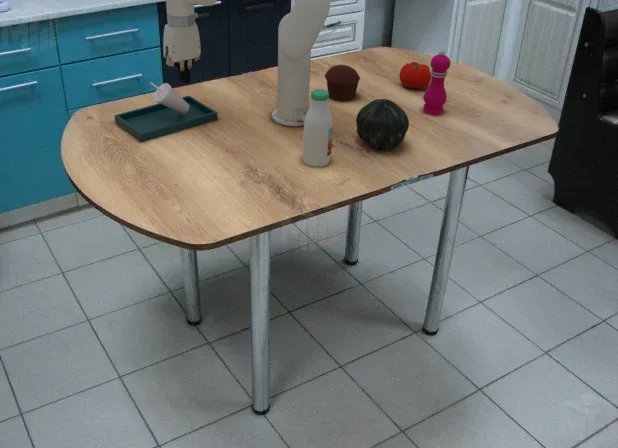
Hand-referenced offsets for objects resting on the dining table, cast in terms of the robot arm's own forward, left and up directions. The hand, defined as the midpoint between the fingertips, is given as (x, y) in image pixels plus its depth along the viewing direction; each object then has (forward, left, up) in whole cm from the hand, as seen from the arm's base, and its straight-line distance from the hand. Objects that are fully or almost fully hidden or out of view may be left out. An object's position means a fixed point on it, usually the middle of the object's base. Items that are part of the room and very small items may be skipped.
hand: (184, 81), depth 198 cm
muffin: (-16, -49, -11) cm, 53 cm away
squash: (-48, -35, -11) cm, 61 cm away
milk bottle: (-45, -13, -11) cm, 48 cm away
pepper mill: (-42, -65, -11) cm, 78 cm away
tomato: (-24, -76, -11) cm, 81 cm away
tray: (0, +7, -11) cm, 13 cm away
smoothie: (0, 0, -9) cm, 9 cm away
